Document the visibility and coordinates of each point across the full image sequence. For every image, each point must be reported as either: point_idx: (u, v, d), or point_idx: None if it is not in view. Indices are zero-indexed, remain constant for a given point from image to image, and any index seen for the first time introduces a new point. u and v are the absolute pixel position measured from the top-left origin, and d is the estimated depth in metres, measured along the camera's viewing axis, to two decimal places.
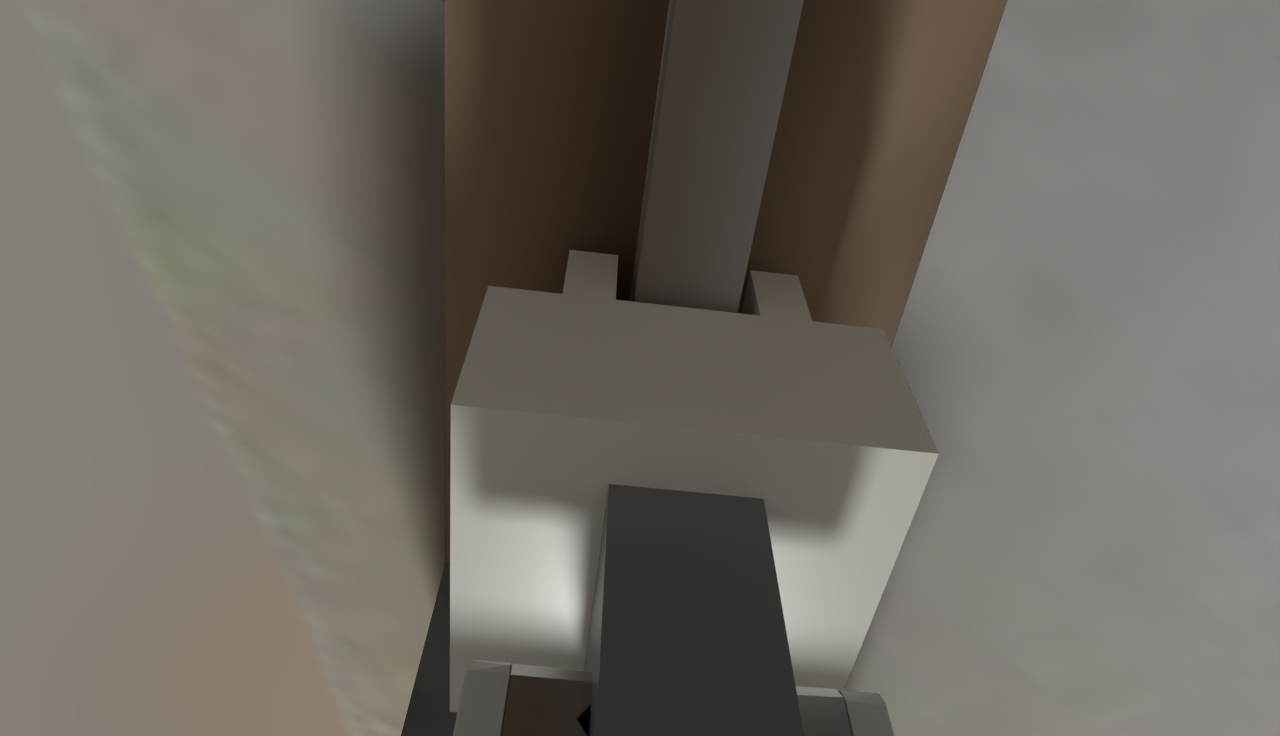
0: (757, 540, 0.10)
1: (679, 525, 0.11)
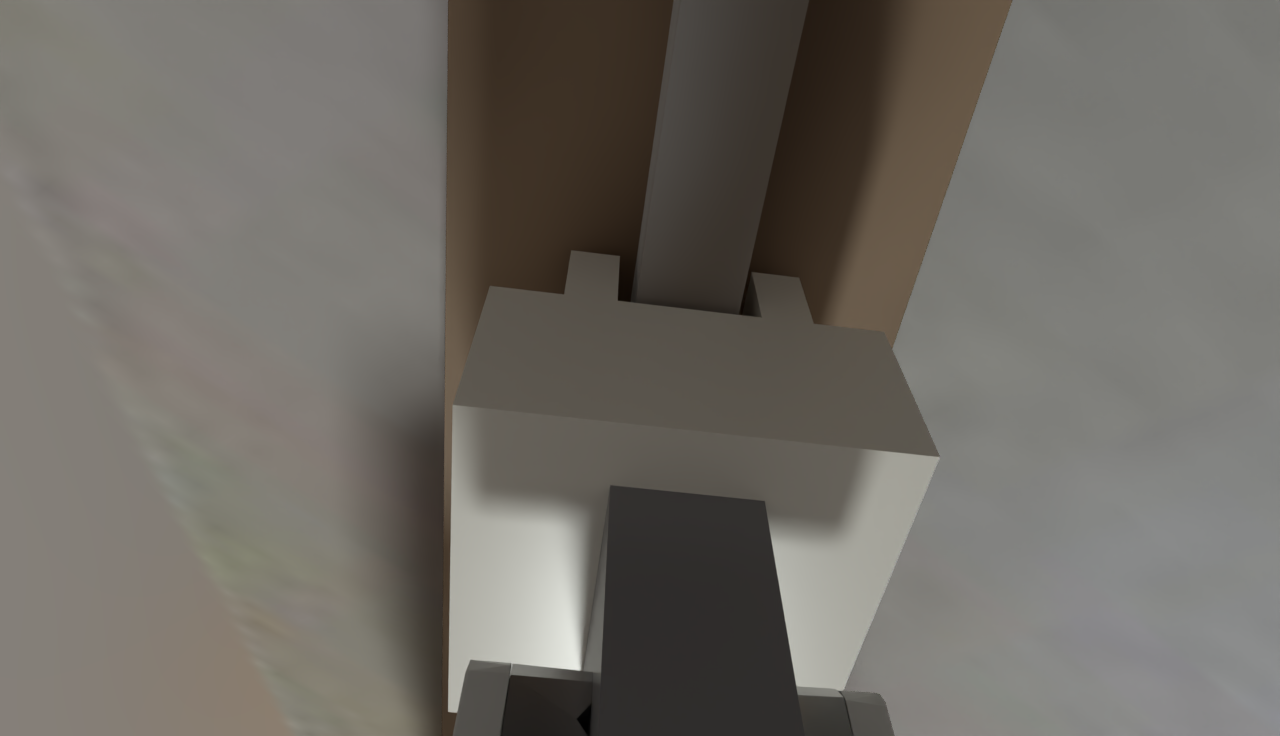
0: (758, 542, 0.10)
1: (680, 527, 0.11)
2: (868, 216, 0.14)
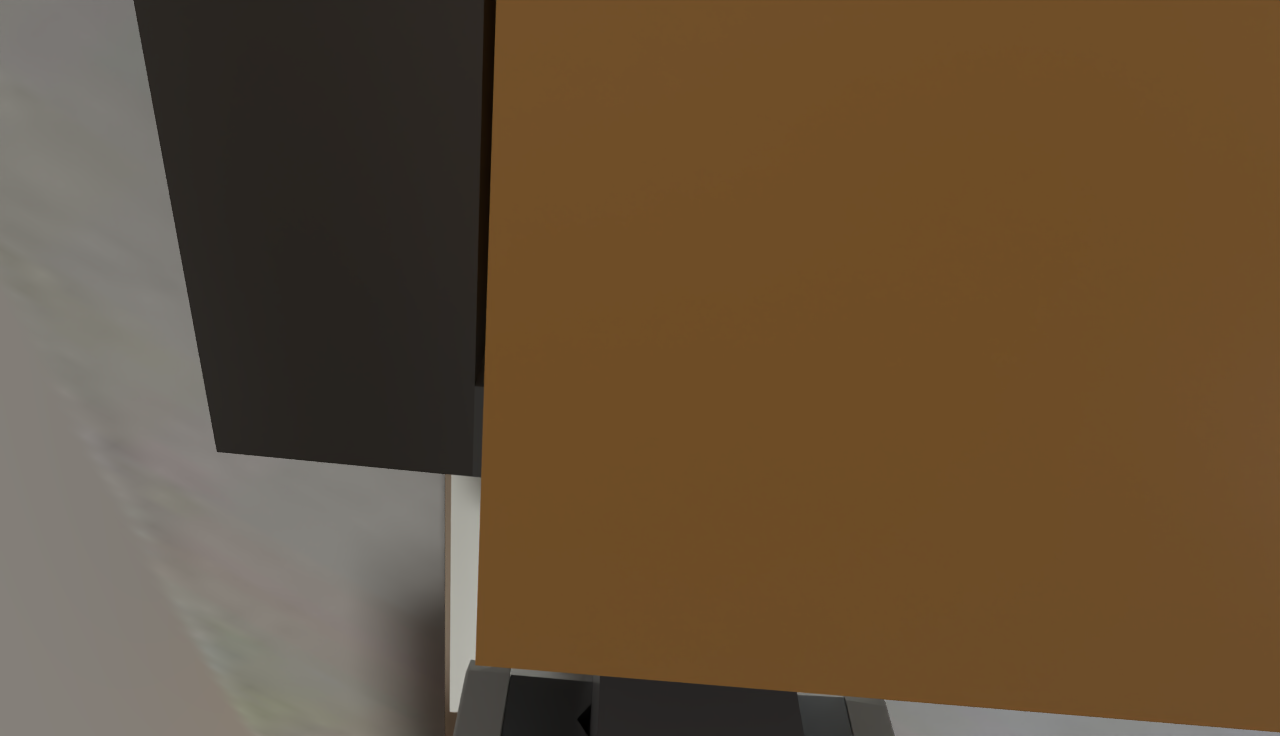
0: None
1: None
2: None
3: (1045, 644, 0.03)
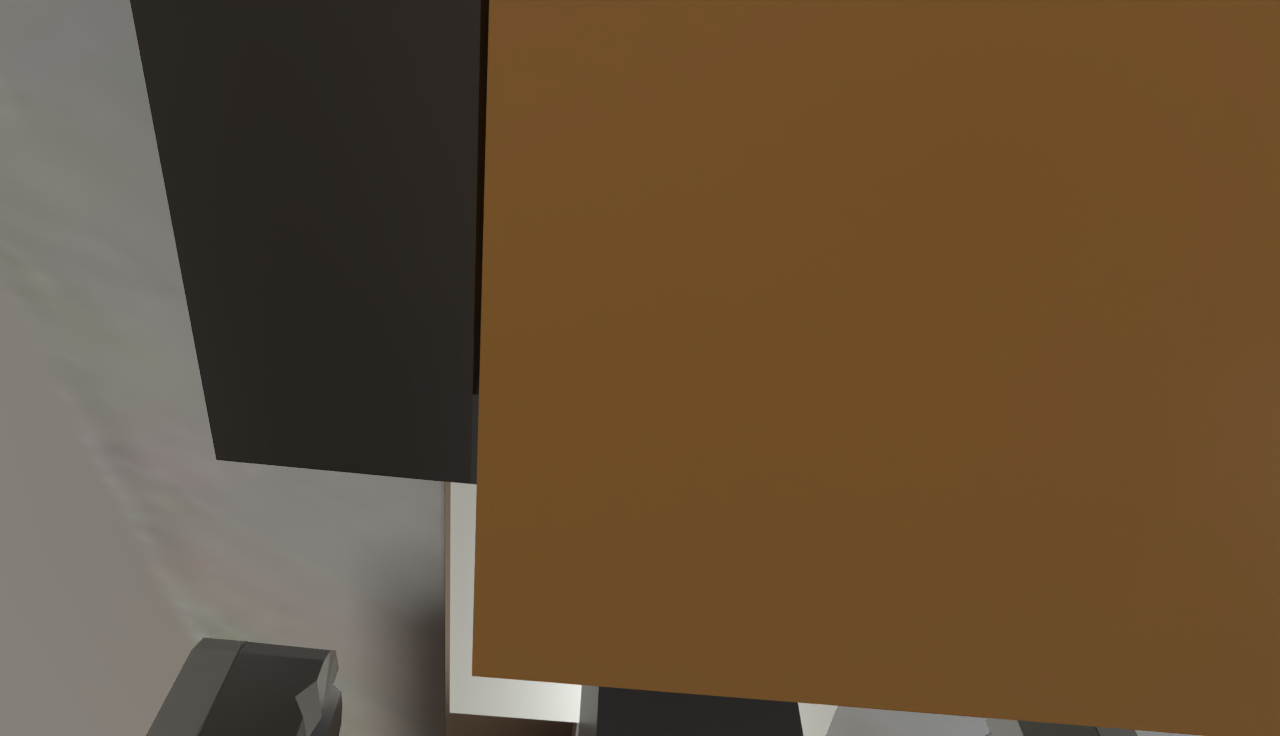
0: None
1: None
2: None
3: (1036, 654, 0.03)
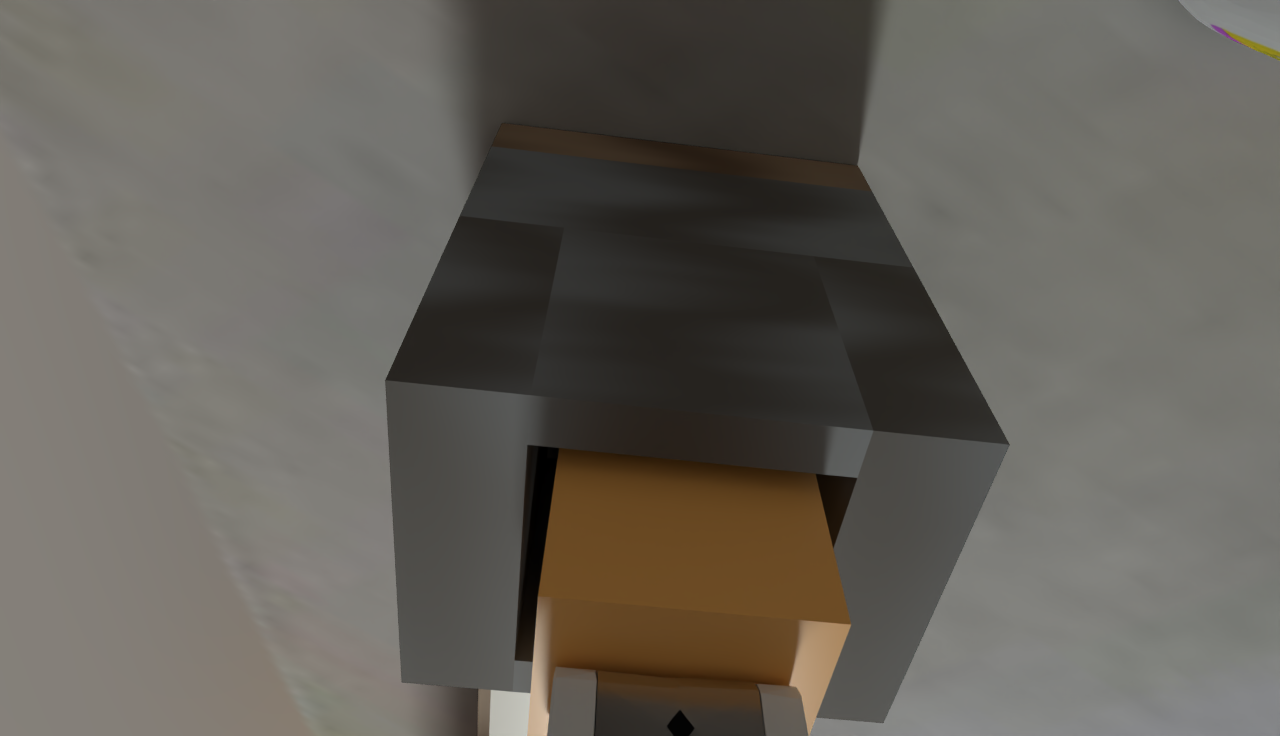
0: None
1: None
2: None
3: None
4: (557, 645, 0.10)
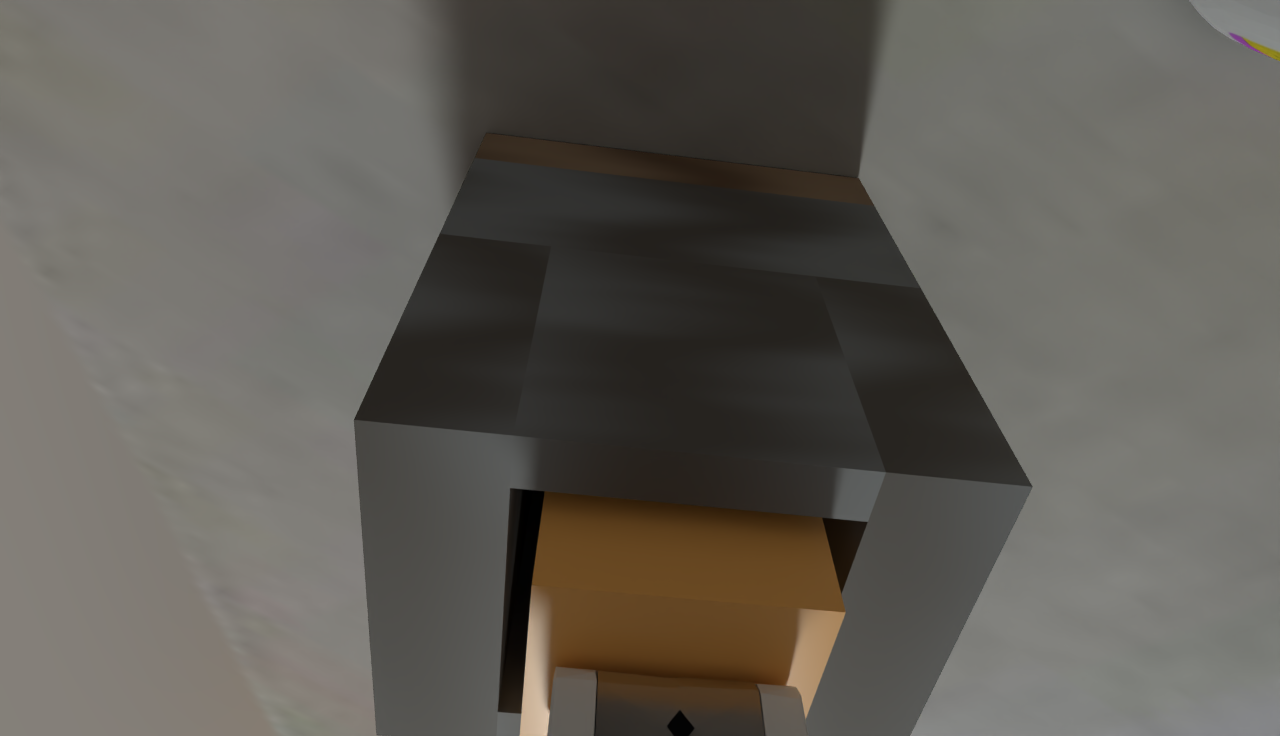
0: None
1: None
2: None
3: None
4: (551, 634, 0.10)
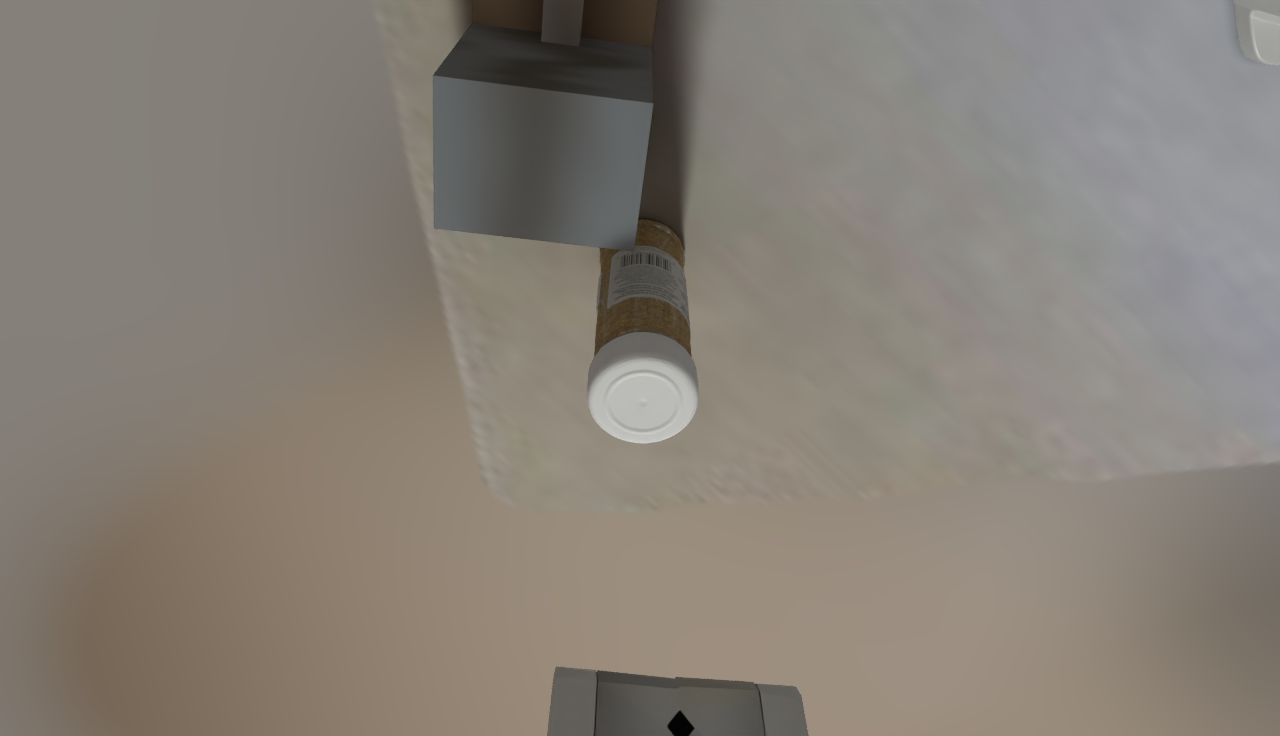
0: None
1: None
2: None
3: None
4: None
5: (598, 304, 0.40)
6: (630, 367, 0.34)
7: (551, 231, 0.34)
